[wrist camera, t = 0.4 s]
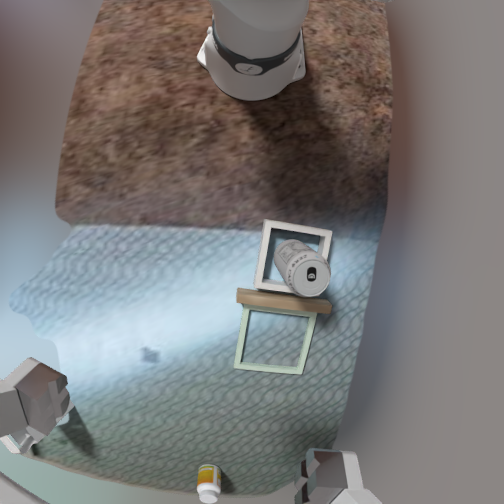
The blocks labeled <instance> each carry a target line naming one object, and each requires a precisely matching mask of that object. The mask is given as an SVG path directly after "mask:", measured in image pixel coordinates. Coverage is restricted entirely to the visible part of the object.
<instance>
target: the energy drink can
mask: <svg viewBox="0 0 504 504" xmlns="http://www.w3.org/2000/svg"><path fill="white" fill-rule="evenodd" d="M274 263H275V265H276V267H277V269H278V270H279V272H280V274H281V275H282V277H283V279H284V280H285V282H286V284H287V285H288V287H289V288H290V290H291V291H292V292H293V293H295V294H296V295H298V296H302V297H313V296H317V295H319V294H321V293H322V292H323V291H324V290H325V289H326V288H327V286H328V284H329V281H330V276H331V270H330V266H329V264H328V262H327V260H326V259H325V258H324V257H323V256H321V255H320V254H319V253H317V252H316V251H314V250H313V249H311V248H310V247H308V246H307V245H305V244H304V243H302V242H301V241H299V240H295V239H289V240H286V241H284V242H282V243H281V244H279V245H278V247H277V248H276V250H275V253H274Z"/></svg>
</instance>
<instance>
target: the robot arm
mask: <svg viewBox="0 0 504 504" xmlns="http://www.w3.org/2000/svg"><path fill="white" fill-rule="evenodd" d="M208 1H209V3H210V5H211V7H212V11H213V17H212V21H213V24H212V27H209V28H208V30H207V34H208V36H207V37H206V39H205V41H204V43H203V45H202V47H201V49H200V51H199V53H198V55H197V61H198V62H199V63H200V64H201V65H202V66H203V67H204V68H206V69H207V70H208V71H209V73H210V75H211V77H212V79H213V80H214V82H215V84H216V85H217V86H218V87H219V88H220V89H221V90H222V91H224V92H225V93H227V94H228V95H230V96H232V97H235V98H238V99H242V100H250V101H254V100H262V99H266V98H269V97H272V96H274V95H276V94H277V93H279V92H280V91H281V90H282V89H284V88H285V87H286V86H287V85H288V84H289V83H291V82H295V81H298V80H300V79H302V78H303V77H304V76H305V72H306V71H305V59H304V49H303V39H302V30H301V27H302V24H303V22H304V20H305V17H306V15H307V12H308V8H309V1H308V0H208ZM373 1H378V2H383V3H387V2H390V1H394V0H373ZM204 52H205V53H204ZM299 66H300V68H298V67H299ZM67 384H68V382H67V377H66V376H65V375H63V374H61V373H59V372H57V371H56V370H53V369H52V368H50V367H48V366H47V365H45V364H43V363H41V362H39V361H37V360H36V359H34V358H32V357H30V358H27V359H26V360H25V361H24V362H23V363H21V364H20V365H19V366H18V367H17V368H16V369H15V370H14V371H13V372H11V373H10V374H9V375H8V376H7V377H6V378H5V379H4V380H2V379H0V438H1V437H4V436H6V435H9V434H11V433H14V432H16V431H19V430H21V429H24V428H26V427H28V426H30V427H32V428H34V429H35V430H37V431H39V432H41V433H43V434H44V435H46V436H48V435H49V434H50V432H51V431H52V430H53V428H54V427H55V426H56V418H59V417H62V416H63V415H64V414H65V412H66V411H67V408H68V406H69V401H70V396H69V392H68V391H67V389H66V388H65V386H66V385H67ZM295 487H296V488H297V490H298V493H297V494H296V495H295V504H382V503H381V502H380V501H379V500H378V499H377V498H376V497H375V496H374V495H373V494H372V493H371V492H370V491H369V490H368V489H364V487H363V483H362V478H361V473H360V468H359V464H358V459H357V455H356V453H355V452H354V451H339V450H330V449H319V448H310V449H309V450H308V451H307V453H306V459H305V460H303V461H301V462H300V464H299V466H298V467H297V470H296V473H295ZM0 504H49V503H48V502H46V501H44V500H42V499H41V498H39V497H37V496H36V495H34V494H33V493H31V492H29V491H28V490H26V489H25V488H23V487H22V486H20V485H19V484H17V483H16V482H14V481H13V480H12V479H10V478H9V477H7V476H6V475H4V474H3V473H2V472H0Z"/></svg>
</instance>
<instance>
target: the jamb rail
mask: <svg viewBox="0 0 504 504" xmlns="http://www.w3.org/2000/svg"><path fill="white" fill-rule="evenodd" d="M236 301H237V303H243V304H250V305H258V306H265V307H273V308H281V309H290V310H298V311H307V312H316V313H325V314H330V313H331V309H332V305H331V304H330V303H329V302H328V300H327V299H319V298H311V297H302V296H295V295H287V294H279V293H272V292H264V291H257V290H250V289H243V288H238V289H237V295H236Z"/></svg>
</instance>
